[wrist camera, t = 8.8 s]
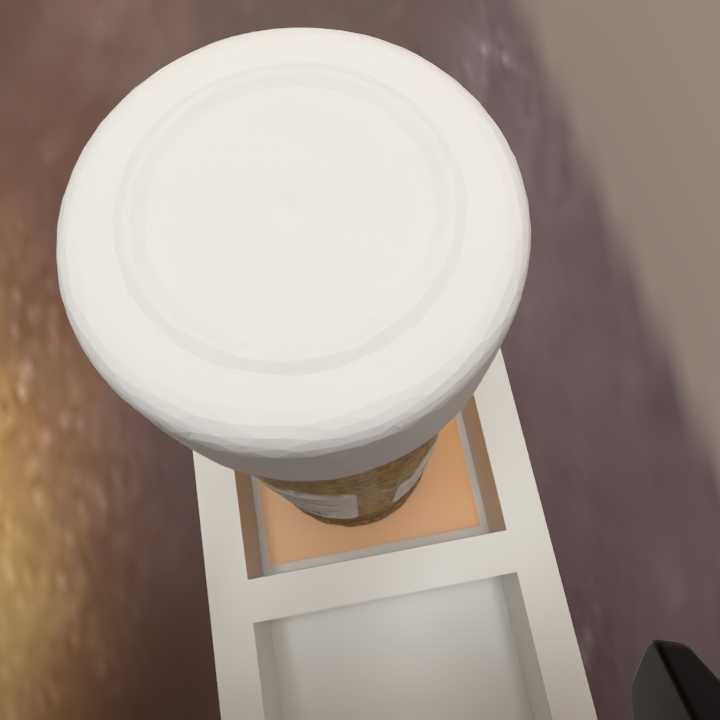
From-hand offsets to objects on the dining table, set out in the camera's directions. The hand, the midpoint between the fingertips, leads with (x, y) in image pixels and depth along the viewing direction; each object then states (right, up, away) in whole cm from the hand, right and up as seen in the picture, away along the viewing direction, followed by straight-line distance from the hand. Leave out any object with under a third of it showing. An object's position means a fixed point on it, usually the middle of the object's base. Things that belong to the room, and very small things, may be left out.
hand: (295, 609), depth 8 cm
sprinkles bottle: (0, +1, +10) cm, 11 cm away
